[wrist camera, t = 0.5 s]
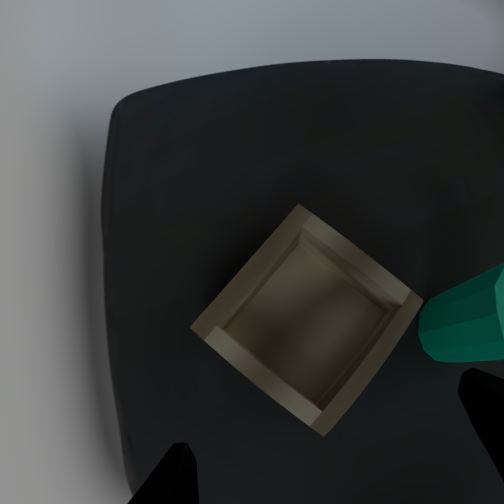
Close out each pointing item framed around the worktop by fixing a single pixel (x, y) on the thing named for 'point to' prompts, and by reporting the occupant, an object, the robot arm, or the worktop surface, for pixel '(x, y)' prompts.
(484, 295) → the candle
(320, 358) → the candle holder
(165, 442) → the worktop surface
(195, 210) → the worktop surface
